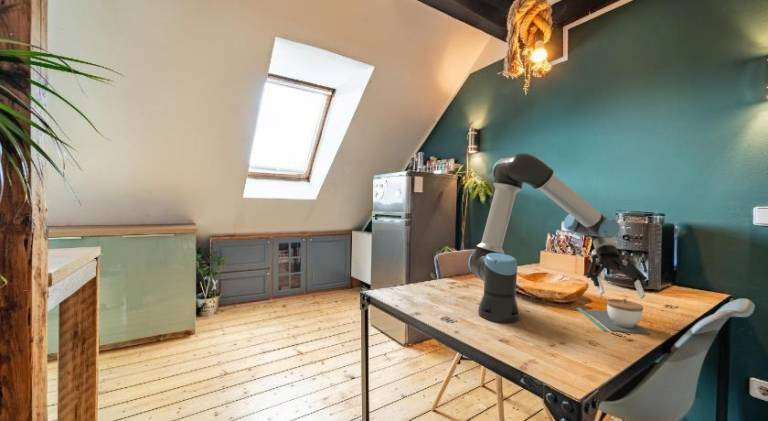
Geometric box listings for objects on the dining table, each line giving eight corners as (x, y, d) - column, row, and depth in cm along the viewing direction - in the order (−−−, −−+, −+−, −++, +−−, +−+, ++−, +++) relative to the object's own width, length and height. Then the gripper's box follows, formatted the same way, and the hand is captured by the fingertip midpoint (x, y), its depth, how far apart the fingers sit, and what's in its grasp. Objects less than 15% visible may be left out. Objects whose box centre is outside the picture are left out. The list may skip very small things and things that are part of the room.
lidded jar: (637, 322, 122) (638, 297, 121) (645, 332, 112) (647, 305, 112) (603, 316, 126) (604, 293, 126) (608, 326, 117) (610, 300, 116)
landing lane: (603, 331, 113) (604, 330, 113) (576, 308, 137) (576, 307, 137) (651, 335, 110) (651, 334, 110) (615, 311, 134) (615, 311, 134)
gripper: (635, 256, 136) (655, 303, 122) (570, 252, 141) (582, 297, 127) (643, 246, 131) (665, 293, 117) (576, 242, 136) (589, 287, 122)
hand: (622, 295), depth 122 cm, fingers open, 13 cm apart
